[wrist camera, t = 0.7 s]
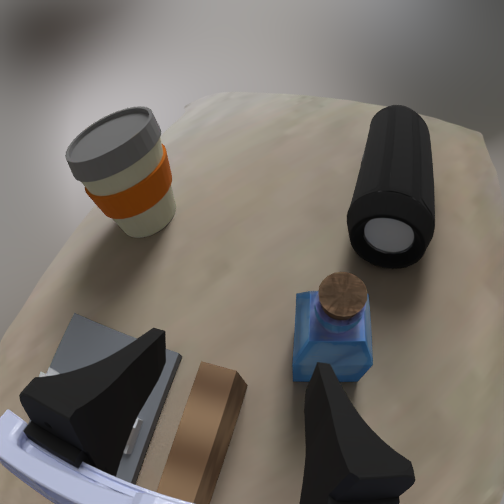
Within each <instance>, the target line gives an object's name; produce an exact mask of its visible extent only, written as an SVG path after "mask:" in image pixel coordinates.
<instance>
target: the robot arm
mask: <svg viewBox="0 0 504 504" xmlns="http://www.w3.org/2000/svg"><path fill="white" fill-rule="evenodd" d="M165 363H166V343H165V331H163V330H160V329H156V328H153V329H151V330H150V331H148V332H147V333H145V334H144V335H142V336H141V337H139V338H138V339H136V340H135V341H133V342H132V343H130V344H129V345H127V346H125V347H124V348H122V349H121V350H119V351H117V352H115V353H114V354H112V355H110V356H108V357H107V358H105V359H102V360H100V361H98V362H96V363H94V364H91V365H89V366H86V367H83V368H80V369H77V370H74V371H70V372H66V373H62V374H57V375H52V376H44V377H35V378H34V379H33V380H32V381H31V382H30V383H29V384H28V385H27V386H26V388H25V389H24V390H23V391H22V392H21V393H20V395H19V396H20V401H21V404H22V406H23V407H24V409H25V411H26V413H27V414H28V416H29V418H30V420H31V422H30V423H29V424H27V423H26V422H25V421H24V420H22V419H21V418H20V417H18V416H17V415H16V414H14V413H13V412H11V411H10V410H6V412H5V413H4V414H3V415H2V416H1V418H0V462H1V464H2V465H3V466H4V467H5V468H6V469H8V470H9V471H10V472H11V473H13V474H14V475H15V476H17V477H18V478H19V479H21V480H22V481H23V482H24V483H26V484H27V485H29V486H30V487H31V488H33V489H34V490H35V491H37V492H38V493H40V494H41V495H43V496H44V497H45V498H47V499H48V500H50V501H51V502H53V503H54V504H194V503H190V502H187V501H183V500H179V499H176V498H173V497H169V496H166V495H163V494H160V493H157V492H154V491H151V490H148V489H145V488H142V487H140V486H137V485H134V484H132V483H129V482H127V481H124V480H122V479H119V478H117V477H116V475H117V471H118V468H119V465H120V461H121V458H122V455H123V452H124V450H125V447H126V444H127V441H128V439H129V436H130V434H131V431H132V429H133V426H134V424H135V421H136V419H137V417H138V415H139V413H140V411H141V409H142V408H143V406H144V404H145V402H146V401H147V399H148V397H149V396H150V394H151V392H152V391H153V389H154V387H155V385H156V384H157V382H158V380H159V378H160V376H161V373H162V371H163V368H164V366H165ZM304 414H305V437H306V458H305V468H304V477H303V485H302V492H301V498H300V504H399V502H400V501H399V496H400V495H401V494H403V493H404V492H405V491H406V490H408V489H409V488H410V487H411V486H412V485H413V484H414V482H415V476H414V470H413V467H412V464H411V461H409V460H408V459H406V458H405V457H403V456H402V455H400V454H399V453H397V452H396V451H395V450H393V449H392V448H391V447H390V446H389V445H387V444H386V443H385V442H384V441H383V440H382V439H381V438H380V437H379V436H378V435H377V434H376V433H375V432H374V431H373V430H372V429H371V428H370V427H369V426H368V425H367V424H366V422H365V421H364V420H363V419H362V417H361V416H360V415H359V413H358V412H357V411H356V409H355V408H354V406H353V405H352V403H351V401H350V400H349V398H348V396H347V395H346V393H345V391H344V390H343V388H342V386H341V384H340V382H339V380H338V378H337V376H336V375H335V373H334V370H333V368H332V366H331V365H330V364H328V363H320V362H317V364H316V367H315V369H314V372H313V374H312V377H311V380H310V382H309V385H308V387H307V389H306V395H305V408H304Z"/></svg>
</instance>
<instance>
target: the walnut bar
mask: <svg viewBox="0 0 504 504" xmlns="http://www.w3.org/2000/svg"><path fill="white" fill-rule="evenodd" d="M246 389H247V384H246V383H245V381H244V380H243V379H242V377H241V376H240V375H239V373H238V372H237V371H235V370H231V369H227V368H224V367H220V366H216V365H212V364H209V363H205V362H202V361H201V364H200V366H199V369H198V372H197V375H196V378H195V381H194V384H193V386H192V389H191V392H190V395H189V398H188V401H187V404H186V407H185V409H184V412H183V415H182V418H181V421H180V424H179V427H178V430H177V433H176V436H175V438H174V441H173V444H172V447H171V450H170V453H169V456H168V459H167V462H166V465H165V468H164V471H163V474H162V477H161V480H160V483H159V486H158V489H157V493H160V494H163V495H166V496H169V497H173V498H176V499H179V500H183V501H187V502H190V503H194V504H209V503H210V500H211V497H212V494H213V492H214V489H215V486H216V483H217V480H218V477H219V474H220V471H221V468H222V465H223V462H224V459H225V456H226V452H227V449H228V446H229V443H230V440H231V437H232V434H233V431H234V427H235V424H236V421H237V418H238V415H239V411H240V408H241V405H242V402H243V398H244V395H245V392H246Z"/></svg>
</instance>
